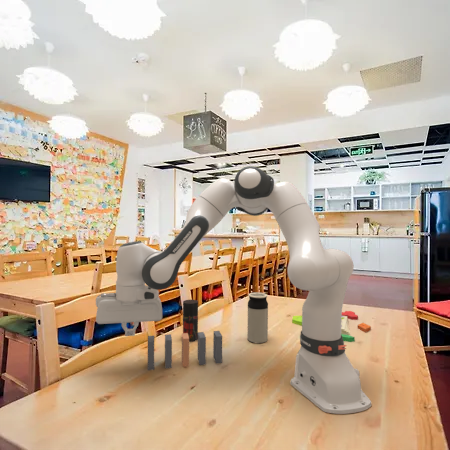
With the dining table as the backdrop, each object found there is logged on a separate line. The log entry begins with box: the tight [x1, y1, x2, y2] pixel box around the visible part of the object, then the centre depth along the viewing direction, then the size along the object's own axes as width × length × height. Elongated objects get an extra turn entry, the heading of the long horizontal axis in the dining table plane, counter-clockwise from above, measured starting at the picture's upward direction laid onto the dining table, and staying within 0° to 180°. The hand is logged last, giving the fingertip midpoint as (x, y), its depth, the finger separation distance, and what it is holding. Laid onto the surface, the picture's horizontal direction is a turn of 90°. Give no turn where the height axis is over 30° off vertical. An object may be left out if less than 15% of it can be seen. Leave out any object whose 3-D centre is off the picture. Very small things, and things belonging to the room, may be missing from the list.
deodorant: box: [182, 299, 199, 343], centre depth 123 cm, size 6×6×15 cm
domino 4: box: [197, 331, 207, 366], centre depth 104 cm, size 2×5×9 cm, turn 13°
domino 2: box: [164, 333, 173, 369], centre depth 101 cm, size 2×5×9 cm, turn 13°
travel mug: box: [246, 292, 269, 344], centre depth 123 cm, size 8×8×18 cm
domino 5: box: [212, 330, 223, 364], centre depth 105 cm, size 2×5×9 cm, turn 13°
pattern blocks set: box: [291, 310, 372, 343], centre depth 141 cm, size 38×34×3 cm
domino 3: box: [181, 332, 190, 368], centre depth 102 cm, size 2×5×9 cm, turn 13°
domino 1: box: [147, 335, 155, 371], centre depth 100 cm, size 2×5×9 cm, turn 13°
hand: (130, 335), depth 99 cm, fingers closed
